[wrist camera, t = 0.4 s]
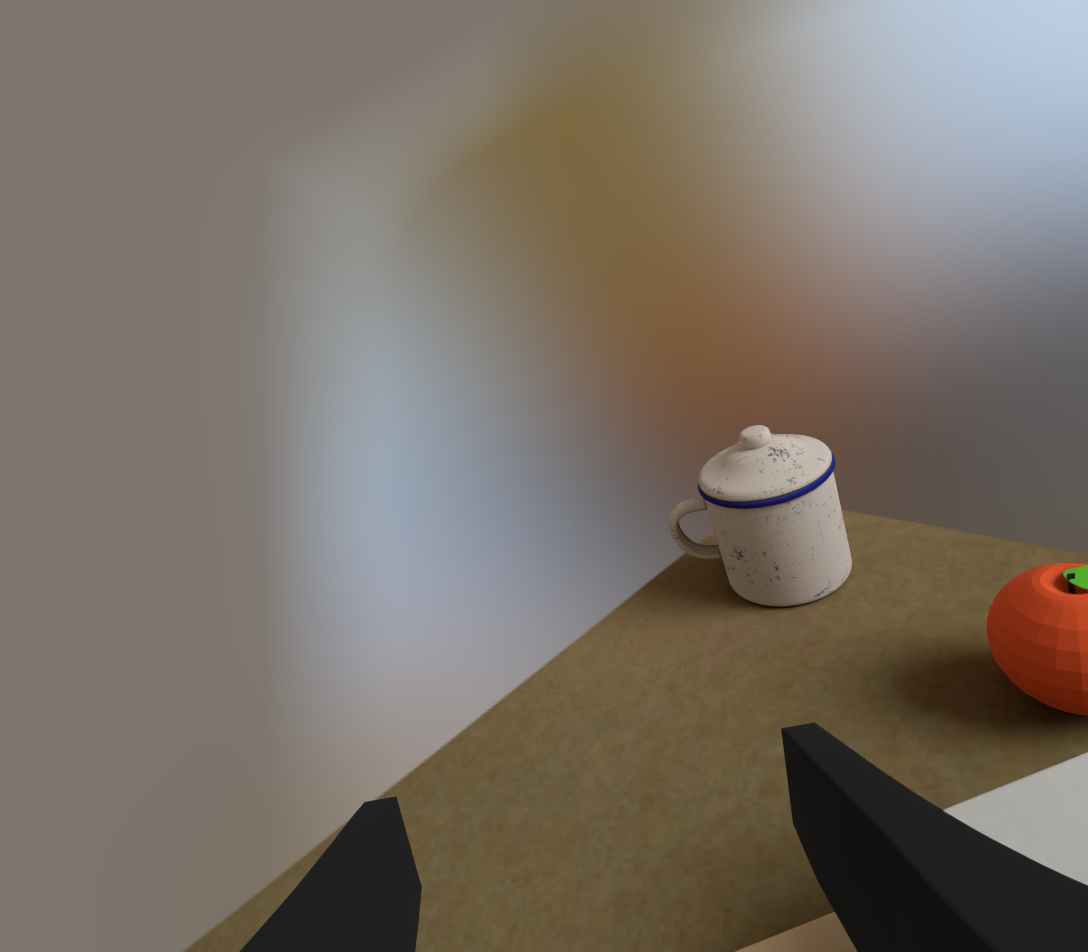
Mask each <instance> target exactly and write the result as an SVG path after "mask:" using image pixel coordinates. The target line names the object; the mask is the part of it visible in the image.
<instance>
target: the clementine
mask: <svg viewBox="0 0 1088 952" xmlns="http://www.w3.org/2000/svg"><path fill="white" fill-rule="evenodd" d="M987 636H988V640H989V644H990V648H991V651H992V654H993V657H994V659H995V660H996V662H997V663H998V665H999V666H1000V668H1001V669H1002V670H1003V672H1004V673H1005V674H1006V675H1007V677H1008V678H1009V679H1010V681H1011V682H1013V683H1014V684H1015V685H1016V686H1017V687H1018V688H1020V689H1021V690H1022V691H1023V692H1025V693H1026V694H1028V695H1030V696H1031V697H1033V698H1035V699H1037V700H1038V701H1040V702H1042V703H1044V704H1046V705H1048V706H1050V707H1053V708H1056V709H1058V710H1061V711H1064V712H1069V713H1074V714H1079V715H1088V565H1085V564H1075V563H1061V564H1053V565H1047V566H1042V567H1037V568H1034V569H1031V570H1028V571H1026V572H1024V573H1022V574H1020V575H1019V576H1017V577H1016V578H1014V579H1013V580H1012V581H1010V582H1009V583H1008V584H1006V585H1005V586H1004V587H1003V588H1002V589H1001V591H1000V592H999V593H998V594H997V596H996V598H995V600H994V601H993V603H992V605H991V607H990V611H989V615H988V621H987Z"/></svg>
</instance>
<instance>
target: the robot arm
mask: <svg viewBox="0 0 1088 952" xmlns="http://www.w3.org/2000/svg"><path fill="white" fill-rule="evenodd" d="M781 731H782V738H783V746H784V754H785V762H786V770H787V778H788V786H789V794H790V802H791V810H792V818H793V824H794V827H795V829H796V831H797V834H798V836H799V839H800V841H801V843H802V846H803V848H804V851H805V853H806V855H807V858H808V860H809V862H810V864H811V867H812V869H813V871H814V874H815V876H816V878H817V880H818V882H819V884H820V886H821V888H822V890H823V891H824V893H825V895H826V897H827V899H828V900H829V902H830V904H831V906H832V908H833V909H834V911H835V913H836V915H837V916H838V918H839V920H840V922H841V924H842V925H843V927H844V929H845V931H846V933H847V934H848V936H849V938H850V940H851V941H852V943H853V945H854V947H855V948H856V950H857V952H1088V885H1086V884H1084V883H1081V882H1079V881H1077V880H1075V879H1072V878H1070V877H1068V876H1066V875H1063V874H1061V873H1059V872H1057V871H1055V870H1053V869H1051V868H1049V867H1046V866H1044V865H1042V864H1040V863H1038V862H1036V861H1034V860H1032V859H1030V858H1028V857H1026V856H1024V855H1023V854H1021V853H1019V852H1017V851H1015V850H1013V849H1011V848H1009V847H1007V846H1005V845H1003V844H1001V843H999V842H997V841H995V840H993V839H992V838H990V837H988V836H986V835H984V834H983V833H981V832H979V831H977V830H975V829H974V828H972V827H970V826H968V825H967V824H965V823H963V822H962V821H960V820H958V819H957V818H955V817H953V816H952V815H950V814H948V813H947V812H945V811H943V810H942V809H940V808H938V807H936V806H935V805H933V804H932V803H930V802H928V801H927V800H925V799H924V798H922V797H921V796H919V795H917V794H916V793H914V792H913V791H911V790H910V789H908V788H907V787H905V786H904V785H902V784H901V783H899V782H898V781H896V780H895V779H893V778H892V777H890V776H889V775H887V774H886V773H884V772H883V771H882V770H880V769H879V768H877V767H876V766H874V765H873V764H872V763H870V762H869V761H867V760H866V759H865V758H863V757H862V756H860V755H859V754H858V753H856V752H855V751H853V750H852V749H851V748H849V747H848V746H846V745H845V744H844V743H842V742H841V741H840V740H838V739H837V738H835V737H834V736H833V735H831V734H830V733H828V732H827V731H826V730H824V729H823V728H821V727H820V726H819V725H817V724H816V723H810V724H804V725H798V726H793V727H787V728H781ZM421 890H422V887H421V883H420V880H419V876H418V872H417V869H416V865H415V862H414V858H413V855H412V851H411V847H410V844H409V840H408V837H407V833H406V829H405V826H404V822H403V819H402V815H401V812H400V808H399V804H398V801H397V797H391V798H385V799H380V800H374V801H368V802H364V803H363V805H362V806H361V807H360V808H359V809H358V811H357V812H356V813H355V814H354V815H353V817H352V818H351V819H350V820H349V822H348V823H347V824H346V825H345V827H344V828H343V829H342V831H341V832H340V833H339V834H338V836H337V837H336V838H335V840H334V841H333V842H332V843H331V845H330V846H329V847H328V848H327V850H326V851H325V852H324V853H323V855H322V856H321V857H320V858H319V860H318V861H317V862H316V863H315V865H314V866H313V867H312V868H311V870H310V871H309V872H308V873H307V874H306V876H305V877H304V878H303V879H302V881H301V882H300V883H299V884H298V886H297V887H296V888H295V889H294V891H293V892H292V893H291V894H290V895H289V896H288V898H287V899H286V900H285V901H284V902H283V903H282V904H281V906H280V907H279V908H278V909H277V910H276V911H275V912H274V913H273V915H272V916H271V917H270V918H269V919H268V920H267V921H266V923H265V924H264V925H263V926H262V927H261V928H260V929H259V931H258V932H257V933H256V934H255V935H254V936H253V937H252V939H251V940H250V941H249V942H248V943H247V944H246V945H245V946H244V947H243V948H242V949H241V951H240V952H415V948H416V939H417V931H418V922H419V911H420V901H421Z"/></svg>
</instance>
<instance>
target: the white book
mask: <svg viewBox="0 0 1088 952" xmlns="http://www.w3.org/2000/svg"><path fill="white" fill-rule="evenodd" d="M943 811H945V812H947V813H948V814H950V815H952V816H953V817H955V818H957V819H958V820H960V821H962V822H963V823H965V824H967V825H968V826H970V827H972V828H974V829H975V830H977V831H979V832H981V833H983V834H984V835H986V836H988V837H990V838H992V839H993V840H995V841H997V842H999V843H1001V844H1003V845H1005V846H1007V847H1009V848H1011V849H1013V850H1015V851H1017V852H1019V853H1021V854H1023V855H1024V856H1026V857H1028V858H1030V859H1032V860H1034V861H1036V862H1038V863H1040V864H1042V865H1044V866H1046V867H1049V868H1051V869H1053V870H1055V871H1057V872H1059V873H1061V874H1063V875H1066V876H1068V877H1070V878H1072V879H1075V880H1077V881H1079V882H1081V883H1084V884H1086V885H1088V752H1087V753H1084V754H1082V755H1079V756H1077V757H1074V758H1072V759H1069V760H1067V761H1064V762H1062V763H1059V764H1057V765H1054V766H1052V767H1049V768H1047V769H1044V770H1042V771H1039V772H1037V773H1034V774H1032V775H1029V776H1027V777H1024V778H1022V779H1019V780H1016V781H1014V782H1011V783H1009V784H1006V785H1004V786H1001V787H999V788H996V789H994V790H991V791H989V792H986V793H984V794H981V795H979V796H976V797H974V798H971V799H969V800H966V801H964V802H961V803H959V804H956V805H954V806H951V807H949V808H946V809H944V810H943Z"/></svg>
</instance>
